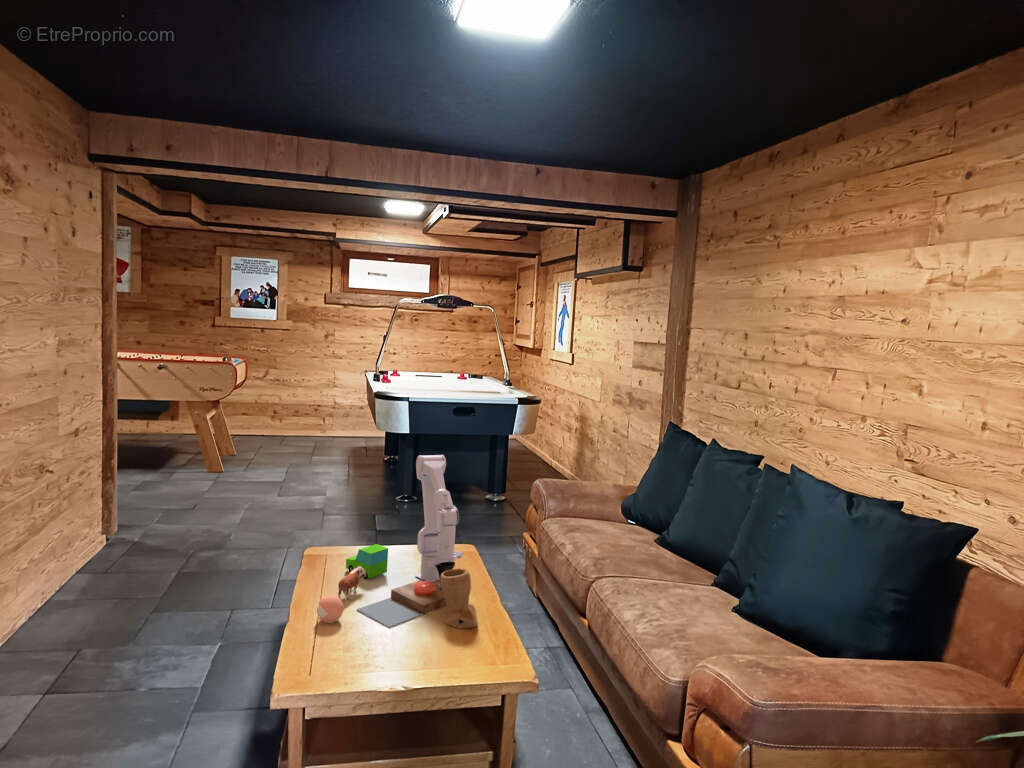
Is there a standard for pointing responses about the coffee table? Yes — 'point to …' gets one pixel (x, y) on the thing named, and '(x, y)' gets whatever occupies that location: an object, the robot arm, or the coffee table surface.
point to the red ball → (424, 588)
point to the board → (419, 598)
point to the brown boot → (458, 598)
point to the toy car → (370, 560)
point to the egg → (330, 608)
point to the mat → (389, 612)
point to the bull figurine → (350, 582)
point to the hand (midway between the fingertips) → (443, 582)
